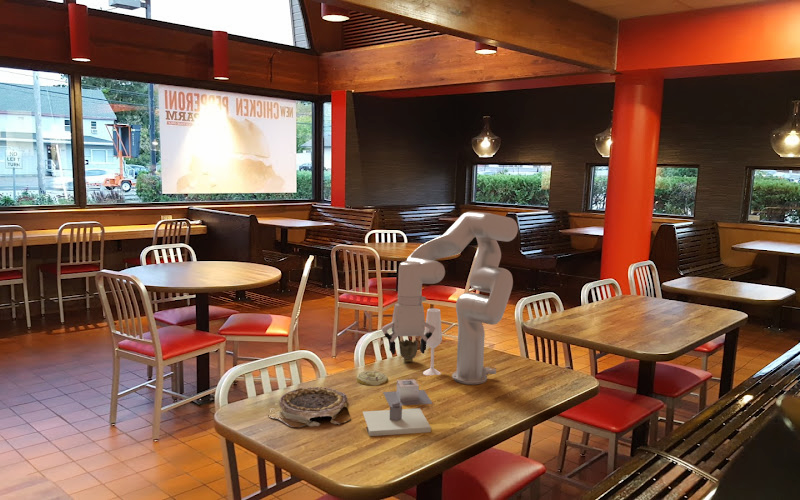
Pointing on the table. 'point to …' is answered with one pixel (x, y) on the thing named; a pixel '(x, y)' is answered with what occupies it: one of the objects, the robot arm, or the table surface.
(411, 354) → the cup
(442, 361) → the table surface
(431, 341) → the champagne flute
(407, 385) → the collar
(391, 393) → the rod stand
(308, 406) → the pie
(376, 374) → the decorated donut
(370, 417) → the hub plate
